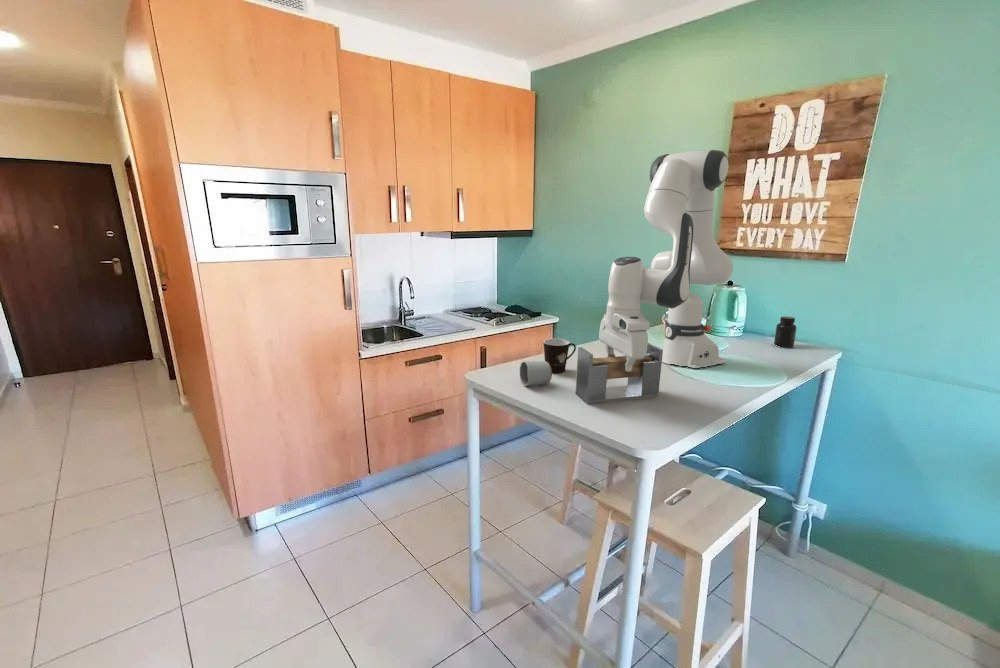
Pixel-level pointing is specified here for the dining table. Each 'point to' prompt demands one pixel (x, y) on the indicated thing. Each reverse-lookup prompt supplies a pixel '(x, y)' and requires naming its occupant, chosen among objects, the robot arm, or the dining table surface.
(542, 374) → the ceramic mug
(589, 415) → the dining table surface
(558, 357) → the coffee mug
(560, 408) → the dining table surface
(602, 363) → the rail
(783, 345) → the supplement bottle
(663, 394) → the dining table surface
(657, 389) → the bracket pair
